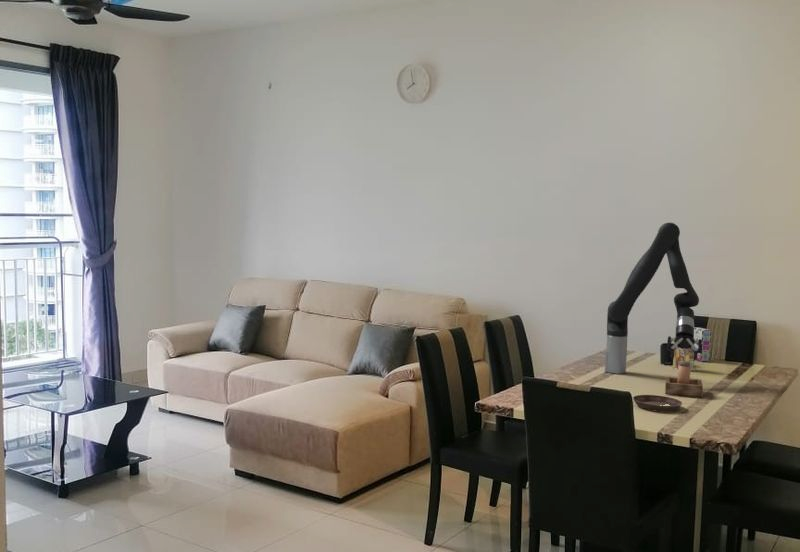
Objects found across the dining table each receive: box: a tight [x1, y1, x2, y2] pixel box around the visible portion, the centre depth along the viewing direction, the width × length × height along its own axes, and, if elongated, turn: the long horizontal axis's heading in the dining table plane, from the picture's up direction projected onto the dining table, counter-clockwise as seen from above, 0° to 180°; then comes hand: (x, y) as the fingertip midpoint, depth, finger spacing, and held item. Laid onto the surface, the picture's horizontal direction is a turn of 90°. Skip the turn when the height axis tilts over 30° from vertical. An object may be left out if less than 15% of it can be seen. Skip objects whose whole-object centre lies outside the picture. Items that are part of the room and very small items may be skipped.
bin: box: [664, 376, 704, 399], centre depth 313 cm, size 14×14×5 cm
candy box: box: [672, 336, 695, 372], centre depth 364 cm, size 9×4×15 cm, turn 33°
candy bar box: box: [694, 326, 712, 363], centre depth 391 cm, size 11×5×16 cm, turn 6°
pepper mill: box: [676, 361, 691, 384], centre depth 312 cm, size 5×5×12 cm
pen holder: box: [659, 342, 674, 366], centre depth 376 cm, size 9×9×10 cm
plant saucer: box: [632, 394, 683, 412], centre depth 287 cm, size 18×18×3 cm
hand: (683, 358), depth 323 cm, fingers open, 8 cm apart
